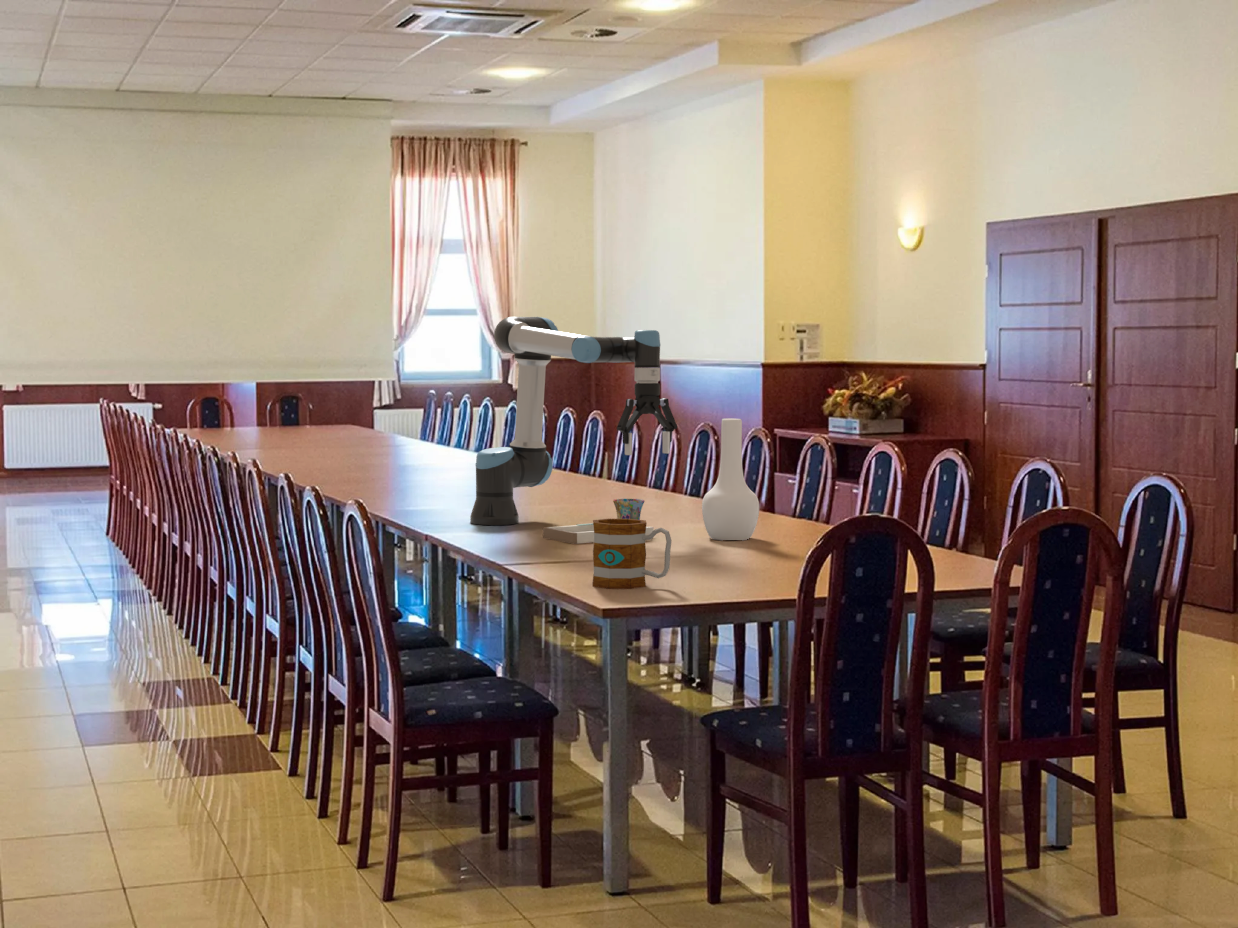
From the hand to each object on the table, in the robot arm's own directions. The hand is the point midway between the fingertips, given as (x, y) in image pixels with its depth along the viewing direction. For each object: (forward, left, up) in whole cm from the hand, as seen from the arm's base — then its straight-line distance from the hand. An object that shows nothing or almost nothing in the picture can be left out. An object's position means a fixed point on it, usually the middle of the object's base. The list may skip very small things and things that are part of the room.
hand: (647, 454), depth 472 cm
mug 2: (+78, -62, -24) cm, 103 cm away
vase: (+21, +15, -24) cm, 35 cm away
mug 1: (-1, -6, -24) cm, 25 cm away
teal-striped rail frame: (-1, -16, -24) cm, 29 cm away
